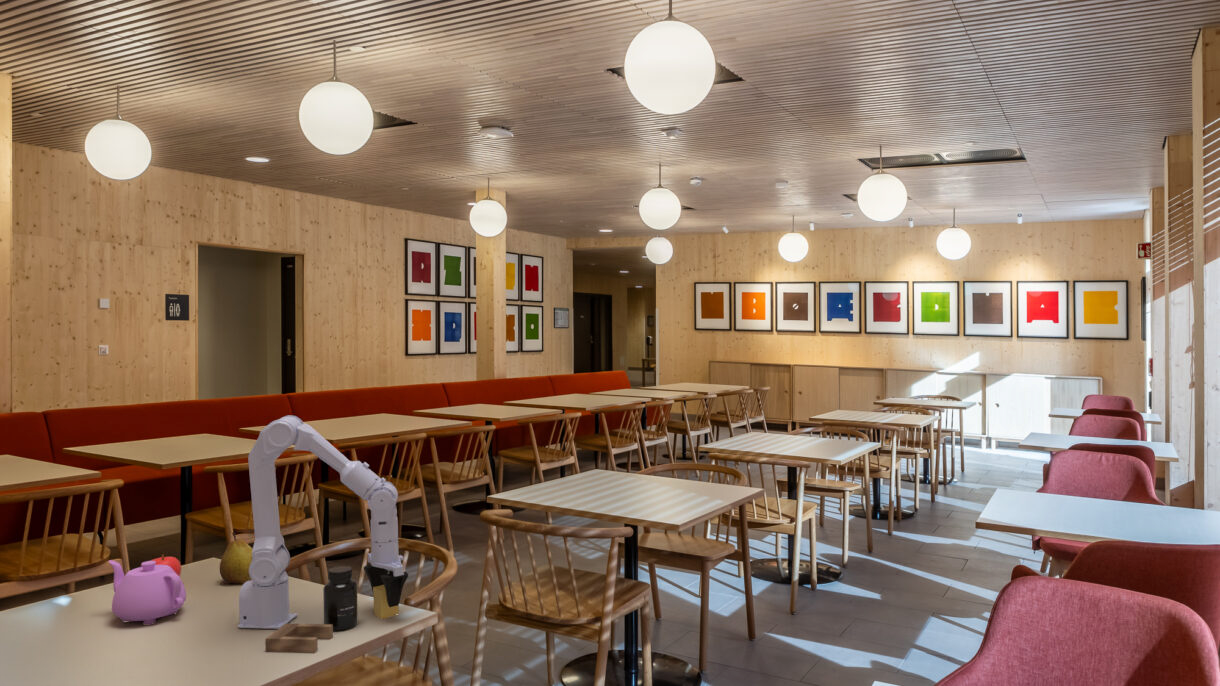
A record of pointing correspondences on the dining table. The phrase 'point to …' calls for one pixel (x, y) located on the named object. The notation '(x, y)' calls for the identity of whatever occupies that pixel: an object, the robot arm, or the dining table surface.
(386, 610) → the block
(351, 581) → the supplement bottle
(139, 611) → the teapot
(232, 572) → the fruit
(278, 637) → the wooden u-shaped bracket
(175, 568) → the apple
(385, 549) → the robot arm
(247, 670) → the dining table surface
